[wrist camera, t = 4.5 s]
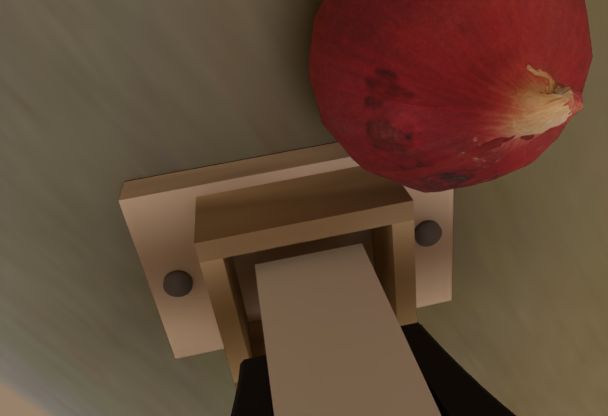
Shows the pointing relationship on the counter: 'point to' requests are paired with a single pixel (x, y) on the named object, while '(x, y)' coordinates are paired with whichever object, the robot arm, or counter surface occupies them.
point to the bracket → (278, 240)
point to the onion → (448, 84)
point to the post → (336, 339)
